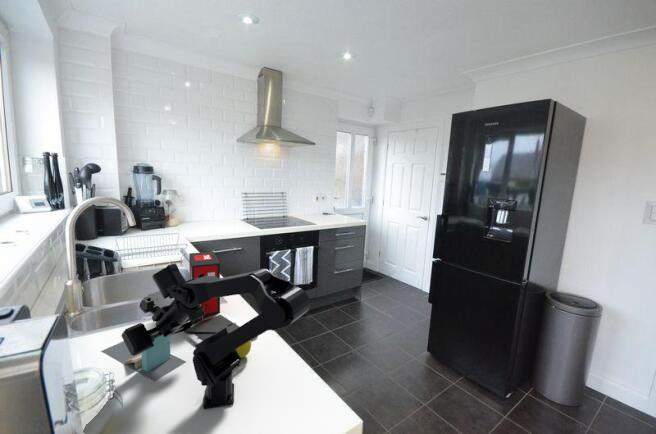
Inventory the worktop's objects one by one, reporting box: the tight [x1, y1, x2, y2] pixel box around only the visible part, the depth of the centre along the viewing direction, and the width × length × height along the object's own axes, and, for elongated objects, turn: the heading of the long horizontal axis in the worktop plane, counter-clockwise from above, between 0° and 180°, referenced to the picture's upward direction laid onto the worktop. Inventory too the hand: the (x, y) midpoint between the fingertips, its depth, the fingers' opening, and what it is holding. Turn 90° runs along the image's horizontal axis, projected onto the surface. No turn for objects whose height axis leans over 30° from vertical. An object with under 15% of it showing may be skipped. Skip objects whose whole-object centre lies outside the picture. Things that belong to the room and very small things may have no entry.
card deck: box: [142, 325, 171, 371], centre depth 78 cm, size 2×7×10 cm, turn 153°
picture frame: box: [180, 311, 259, 345], centre depth 95 cm, size 16×3×21 cm
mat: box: [101, 340, 187, 382], centre depth 82 cm, size 24×9×1 cm, turn 63°
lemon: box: [236, 340, 252, 359], centre depth 83 cm, size 6×6×8 cm
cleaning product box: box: [188, 251, 221, 319], centre depth 111 cm, size 16×9×20 cm, turn 28°
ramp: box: [126, 353, 142, 369], centre depth 81 cm, size 5×8×3 cm, turn 153°
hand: (152, 340), depth 79 cm, fingers closed on card deck, 6 cm apart
